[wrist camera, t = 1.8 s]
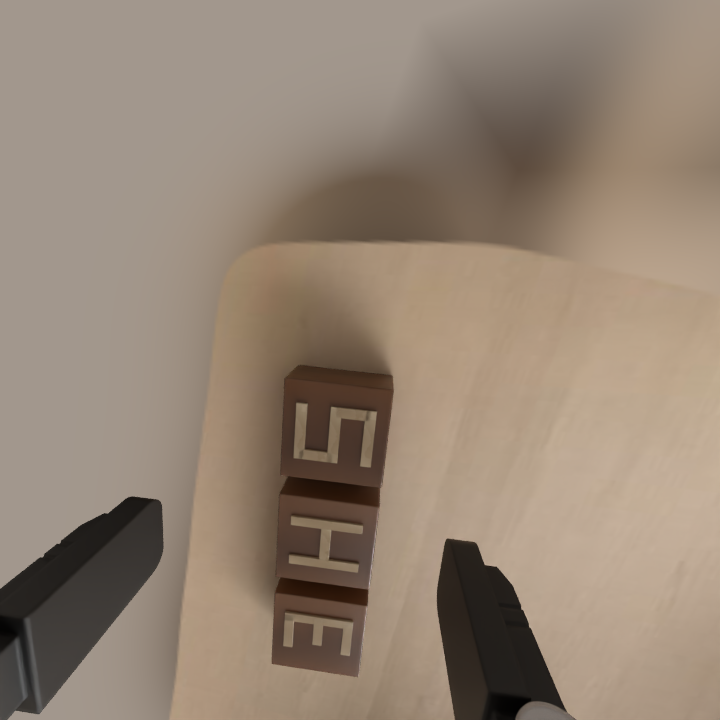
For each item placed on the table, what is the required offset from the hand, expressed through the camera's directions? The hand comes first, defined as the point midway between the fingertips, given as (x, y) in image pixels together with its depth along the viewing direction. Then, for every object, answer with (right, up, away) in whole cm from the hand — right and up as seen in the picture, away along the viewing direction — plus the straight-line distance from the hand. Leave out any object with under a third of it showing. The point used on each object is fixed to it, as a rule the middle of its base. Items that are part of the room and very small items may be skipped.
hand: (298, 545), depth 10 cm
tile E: (0, -9, +12) cm, 15 cm away
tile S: (+1, +2, +9) cm, 9 cm away
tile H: (0, -4, +10) cm, 11 cm away
